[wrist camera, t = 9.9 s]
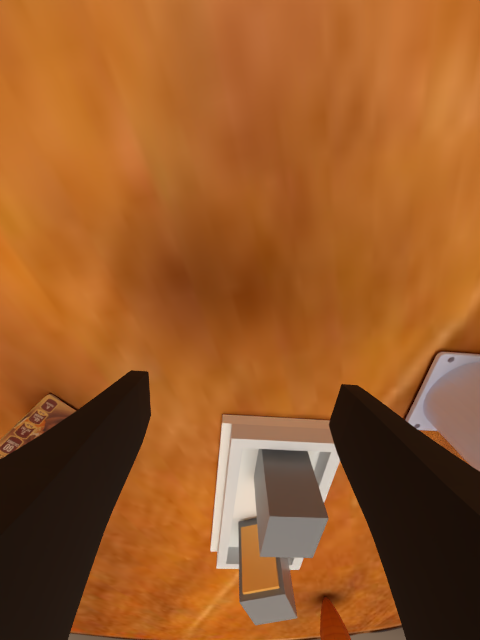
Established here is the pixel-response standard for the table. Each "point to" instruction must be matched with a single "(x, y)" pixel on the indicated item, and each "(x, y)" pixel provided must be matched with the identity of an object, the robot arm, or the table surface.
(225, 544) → the white tray
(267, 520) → the grey toy block
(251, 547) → the grey block orange top
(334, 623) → the carrot
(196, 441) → the table surface
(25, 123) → the table surface
